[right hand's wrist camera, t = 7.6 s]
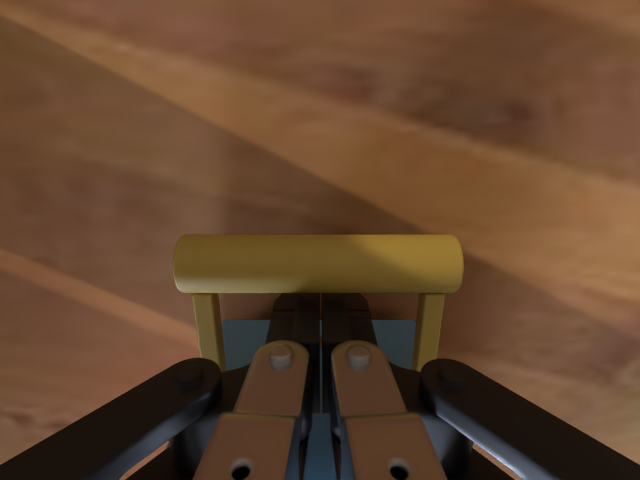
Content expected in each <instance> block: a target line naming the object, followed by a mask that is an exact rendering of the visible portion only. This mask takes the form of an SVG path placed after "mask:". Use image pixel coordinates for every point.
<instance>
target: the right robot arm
mask: <svg viewBox="0 0 640 480" xmlns="http://www.w3.org/2000/svg"><path fill="white" fill-rule="evenodd" d="M313 413H320V293H282V294H281V295H280V296H279V297H278V298H277V299H276V300H275V303H274V307H273V312H272V316H271V320H270V325H269V329H268V333H267V337H266V342H265V345H264V346H262V347H261V348H259V349H258V350H257V352H256V353H255V355H254V357H253V360H252V362H251V363H250V364H248V365H246V366H243V367H241V368H237V369H233V370H229V371H224V372H221V370H220V367H219V365H218V364H217V363H216V362H214V361H212V360H210V359H206V358H192V359H187V360H184V361H181V362H178V363H176V364H174V365H173V366H171V367H169V368H167V369H166V370H164V371H162V372H160V373H159V374H157V375H155V376H153V377H152V378H150V379H148V380H147V381H145V382H143V383H141V384H140V385H138V386H136V387H134V388H133V389H131V390H129V391H128V392H126V393H124V394H122V395H121V396H119V397H117V398H115V399H114V400H112V401H110V402H109V403H107V404H105V405H103V406H102V407H100V408H98V409H96V410H95V411H93V412H91V413H90V414H88V415H86V416H84V417H83V418H81V419H79V420H77V421H76V422H74V423H72V424H71V425H69V426H67V427H65V428H64V429H62V430H60V431H58V432H57V433H55V434H53V435H51V436H50V437H48V438H46V439H45V440H43V441H41V442H39V443H38V444H36V445H34V446H32V447H31V448H29V449H27V450H26V451H24V452H22V453H20V454H19V455H17V456H15V457H13V458H12V459H10V460H8V461H7V462H5V463H3V464H1V465H0V480H119V479H120V478H121V476H122V475H123V474H124V473H125V472H127V471H128V470H129V469H130V468H132V467H133V466H134V465H136V464H137V463H138V462H140V461H141V460H143V459H144V458H145V457H147V456H148V455H149V454H151V453H152V452H153V451H155V450H156V449H157V448H159V447H160V446H162V445H163V444H164V443H166V442H167V441H168V440H169V443H170V447H168V448H167V449H166V450H164V451H163V452H162V453H160V454H159V455H158V456H156V457H155V458H154V459H152V460H151V461H150V462H148V463H147V464H146V465H144V466H143V467H142V468H140V469H139V470H138V471H136V472H135V473H134V474H132V475H131V476H130V477H128V478H127V479H126V480H305V478H306V470H307V461H308V452H309V444H310V431H311V428H312V414H313ZM322 413H330V444H331V452H332V461H333V470H334V478H335V480H514V479H513V478H512V477H510V476H509V475H508V474H506V473H505V472H504V471H502V470H501V469H500V468H498V467H497V466H496V465H494V464H493V463H492V462H490V461H489V460H488V459H486V458H485V457H484V456H482V455H481V454H480V453H478V452H477V451H476V450H474V449H473V448H472V447H473V442H474V443H476V444H477V445H478V446H480V447H481V448H483V449H484V450H485V451H487V452H488V453H489V454H491V455H492V456H493V457H495V458H496V459H497V460H499V461H500V462H502V463H503V464H504V465H506V466H507V467H508V468H510V469H511V470H512V471H514V472H515V473H516V474H517V475H518V476H519V477H520V478H521V479H522V480H640V465H639V464H637V463H635V462H633V461H632V460H630V459H628V458H627V457H625V456H623V455H621V454H620V453H618V452H616V451H614V450H613V449H611V448H609V447H608V446H606V445H604V444H602V443H601V442H599V441H597V440H595V439H594V438H592V437H590V436H589V435H587V434H585V433H583V432H582V431H580V430H578V429H576V428H575V427H573V426H571V425H570V424H568V423H566V422H564V421H563V420H561V419H559V418H557V417H556V416H554V415H552V414H550V413H549V412H547V411H545V410H544V409H542V408H540V407H538V406H537V405H535V404H533V403H531V402H530V401H528V400H526V399H525V398H523V397H521V396H519V395H518V394H516V393H514V392H512V391H511V390H509V389H507V388H506V387H504V386H502V385H500V384H499V383H497V382H495V381H493V380H492V379H490V378H488V377H487V376H485V375H483V374H481V373H480V372H478V371H476V370H474V369H473V368H471V367H469V366H467V365H465V364H464V363H461V362H458V361H455V360H451V359H434V360H431V361H429V362H427V363H425V364H424V365H423V367H422V369H421V372H419V371H415V370H410V369H406V368H402V367H399V366H397V365H395V364H393V363H391V362H389V361H388V360H387V357H386V355H385V353H384V352H383V350H382V349H381V348H379V347H378V344H377V340H376V336H375V332H374V328H373V324H372V320H371V315H370V311H369V307H368V303H367V300H366V299H365V298H364V297H363V296H362V295H361V294H360V293H322Z"/></svg>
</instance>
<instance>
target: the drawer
mask: <svg viewBox="0 0 640 480" xmlns="http://www.w3.org/2000/svg"><path fill="white" fill-rule="evenodd" d="M173 274H174V280H175V284H176V286H177V288H178V290H179V291H180V292H182V293H193V294H192V299H193V306H194V313H195V320H196V328H197V335H198V342H199V349H200V356H201V358H206V359H210V360H212V361H214V362H216V363H217V364H218V365H219V367H220V370H221V372H224V371H229V370H233V369H237V368H241V367H243V366H246V365H248V364H250V363H251V362H252V360H253V357H254V355H255V353H256V352H257V350H258V349H259V348H261V347H262V346H264V345H265V342H266V337H267V333H268V329H269V325H270V320H224V321H223V323H222V324H221V315H220V306H219V297H218V293H419V299H418V309H417V318H416V323H415V321H414V320H372V324H373V328H374V332H375V336H376V340H377V344H378V347H379V348H381V349H382V350H383V352H384V353H385V355H386V357H387V360H388V361H389V362H391V363H393V364H395V365H397V366H399V367H402V368H406V369H410V370H415V371H419V372H421V369H422V367H423V365H424V364H425V363H427V362H429V361H431V360H434V359H436V358H437V351H438V344H439V336H440V329H441V322H442V315H443V307H444V300H445V294H444V293H454V292H456V291H458V290H459V288H460V286H461V283H462V280H463V274H464V257H463V251H462V247H461V244H460V242H459V240H458V238H457V237H456V236H454V235H183V236H181V237H180V238H179V240H178V242H177V244H176V247H175V251H174V257H173ZM168 447H170V443H169V444H168V446H167V448H168ZM167 448H166V449H167ZM305 480H335V478H334V470H333V461H332V452H331V444H330V413H322V320H320V413H313V414H312V428H311V431H310V444H309V452H308V461H307V470H306V478H305Z"/></svg>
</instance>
